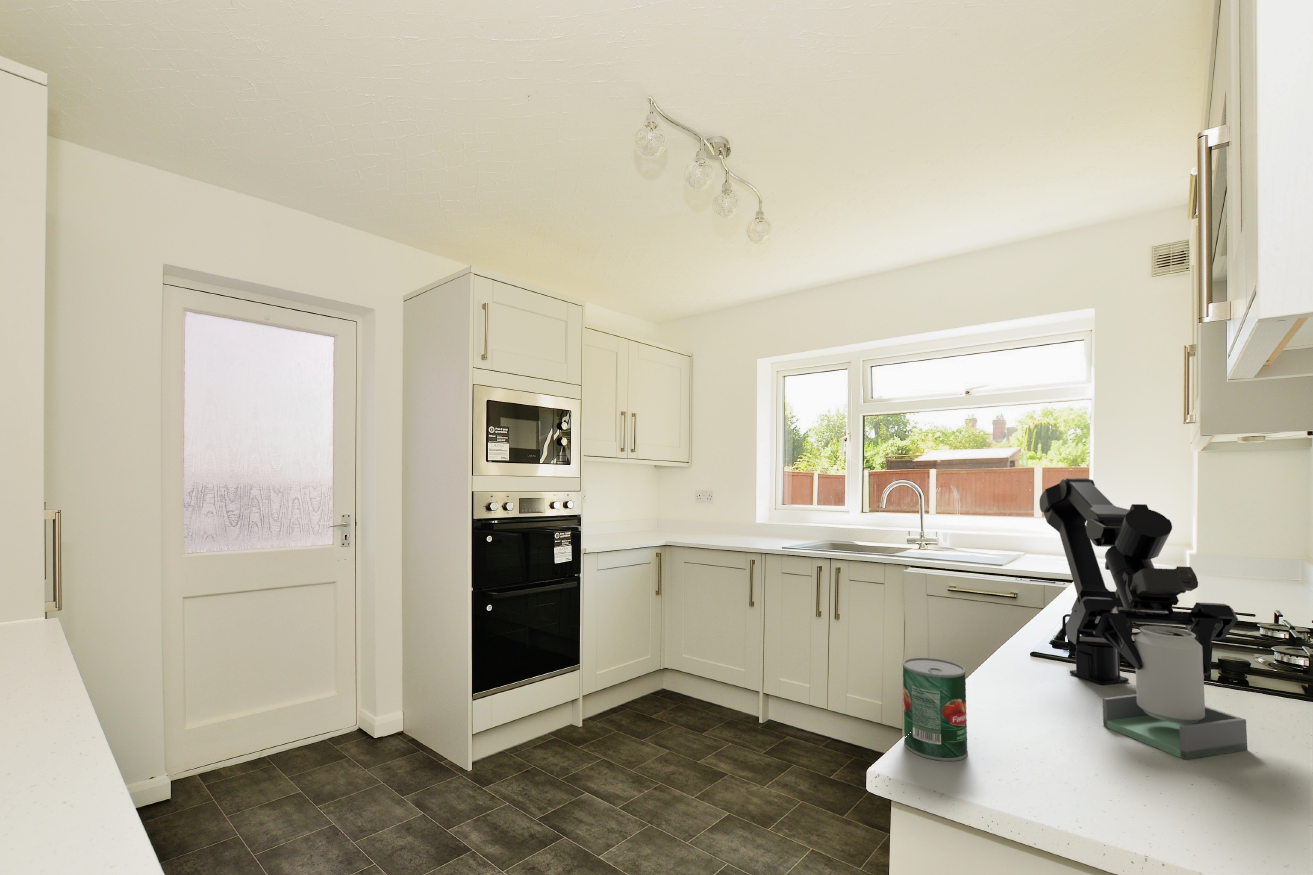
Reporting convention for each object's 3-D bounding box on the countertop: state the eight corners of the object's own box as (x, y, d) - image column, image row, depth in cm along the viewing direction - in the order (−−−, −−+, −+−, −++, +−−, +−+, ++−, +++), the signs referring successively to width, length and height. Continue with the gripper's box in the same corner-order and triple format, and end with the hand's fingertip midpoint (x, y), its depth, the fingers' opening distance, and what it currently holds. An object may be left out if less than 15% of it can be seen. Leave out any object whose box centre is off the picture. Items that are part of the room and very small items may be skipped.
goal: (1160, 718, 95) (1159, 691, 95) (1247, 749, 84) (1245, 719, 84) (1103, 725, 92) (1102, 698, 92) (1185, 759, 81) (1184, 728, 81)
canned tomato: (900, 733, 89) (899, 655, 90) (960, 739, 87) (958, 659, 88) (908, 757, 81) (906, 672, 82) (974, 764, 79) (971, 677, 80)
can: (1218, 721, 86) (1215, 633, 86) (1182, 729, 83) (1178, 638, 84) (1159, 702, 93) (1156, 621, 93) (1124, 708, 90) (1121, 625, 91)
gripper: (1078, 543, 96) (1110, 635, 85) (1227, 548, 90) (1281, 646, 79) (1063, 585, 103) (1090, 675, 92) (1200, 592, 97) (1246, 688, 86)
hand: (1173, 670), depth 87 cm, fingers closed on can, 7 cm apart
